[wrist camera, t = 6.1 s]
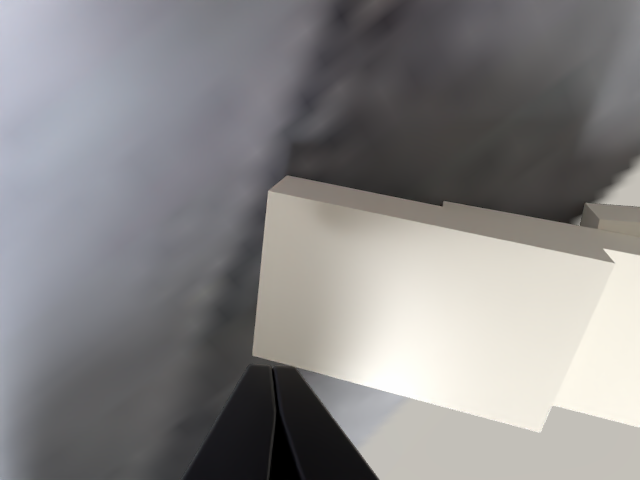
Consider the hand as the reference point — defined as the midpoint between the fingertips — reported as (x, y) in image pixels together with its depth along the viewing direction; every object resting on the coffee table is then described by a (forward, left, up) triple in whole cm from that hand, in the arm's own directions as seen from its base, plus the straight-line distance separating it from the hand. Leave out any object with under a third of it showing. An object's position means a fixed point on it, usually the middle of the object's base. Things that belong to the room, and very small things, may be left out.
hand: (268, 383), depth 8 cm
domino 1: (0, 0, -5) cm, 5 cm away
